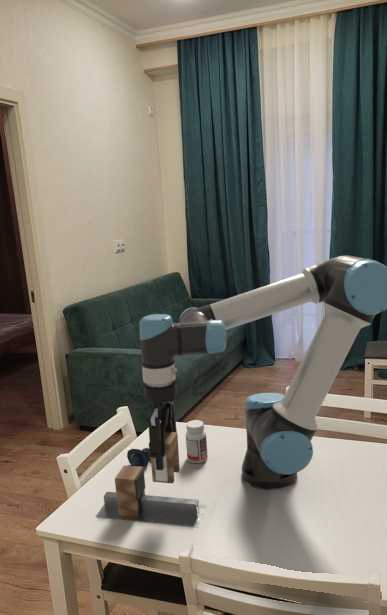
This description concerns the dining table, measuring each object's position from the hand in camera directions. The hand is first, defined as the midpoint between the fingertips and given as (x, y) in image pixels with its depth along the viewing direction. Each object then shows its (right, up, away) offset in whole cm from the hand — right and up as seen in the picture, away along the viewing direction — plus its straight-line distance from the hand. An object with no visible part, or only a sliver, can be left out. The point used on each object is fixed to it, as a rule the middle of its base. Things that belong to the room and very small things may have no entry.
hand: (166, 472), depth 117 cm
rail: (-4, -12, +4) cm, 13 cm away
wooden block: (-9, -11, +5) cm, 15 cm away
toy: (-8, -7, +29) cm, 31 cm away
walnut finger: (0, -1, 0) cm, 1 cm away
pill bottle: (+8, -6, +29) cm, 31 cm away
